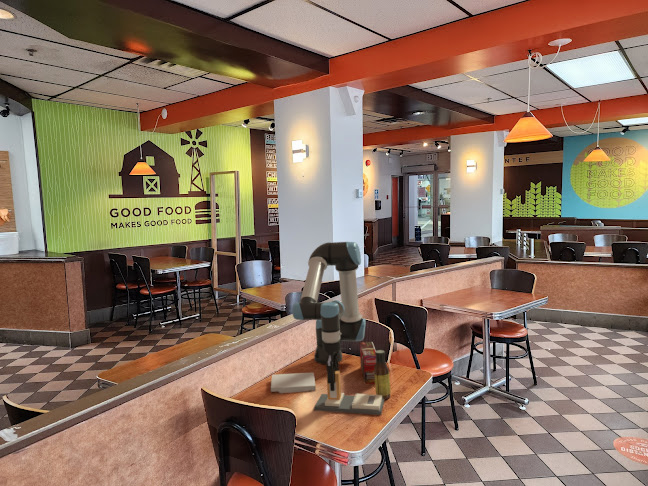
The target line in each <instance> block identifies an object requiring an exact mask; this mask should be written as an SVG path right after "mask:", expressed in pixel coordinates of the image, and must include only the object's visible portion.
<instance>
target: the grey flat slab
mask: <svg viewBox="0 0 648 486" xmlns="http://www.w3.org/2000/svg"><path fill="white" fill-rule="evenodd" d="M270 382H271V383H270V392H273V393H274V392H278V393H279V394H285V393H287V394H289V393H300V392H301V393H303V392H311V391H313V392H315V391H316V380H315V372H299V373H298V372H297V373H279V374H272V375H271V381H270Z"/></svg>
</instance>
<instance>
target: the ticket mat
mask: <svg viewBox="0 0 648 486" xmlns="http://www.w3.org/2000/svg"><path fill="white" fill-rule="evenodd" d="M327 398H328V393H326V394H325V393H321V394H320V397H319V398H318V400H317V401H316V404H315V405H314V407H313V409H314V411H317V412H318V411H319V412H332V413H333V412H334V413H346V414H348V413H349V414H360V415H361V414H364V415H375V416H381V415H382V413H383V408H384V405H385V399H384V398H383V397H382V395H376V394H373V393H372V394H369V393H355V395H345V394H344V397H343V400H342V402H341V404H340V406H339V407H337V406H325V401H326V400H327Z"/></svg>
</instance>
